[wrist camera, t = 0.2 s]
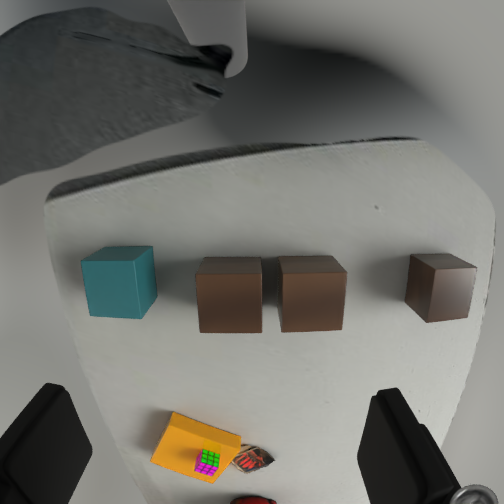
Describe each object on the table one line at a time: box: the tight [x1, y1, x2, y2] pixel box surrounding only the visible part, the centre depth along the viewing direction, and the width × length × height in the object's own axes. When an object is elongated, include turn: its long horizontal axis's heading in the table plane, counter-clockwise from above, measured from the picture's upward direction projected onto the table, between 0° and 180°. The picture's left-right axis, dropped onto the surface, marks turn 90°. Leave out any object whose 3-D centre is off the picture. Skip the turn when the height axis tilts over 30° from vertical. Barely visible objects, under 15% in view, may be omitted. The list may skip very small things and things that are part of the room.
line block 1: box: [195, 257, 262, 333], centre depth 25 cm, size 5×5×5 cm
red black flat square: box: [231, 445, 275, 474], centre depth 32 cm, size 5×5×1 cm
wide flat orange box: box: [150, 412, 241, 484], centre depth 30 cm, size 8×8×4 cm
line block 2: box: [277, 256, 347, 332], centre depth 25 cm, size 5×5×5 cm
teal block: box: [81, 246, 157, 319], centre depth 25 cm, size 5×5×5 cm
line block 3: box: [405, 254, 477, 323], centre depth 25 cm, size 5×5×5 cm
